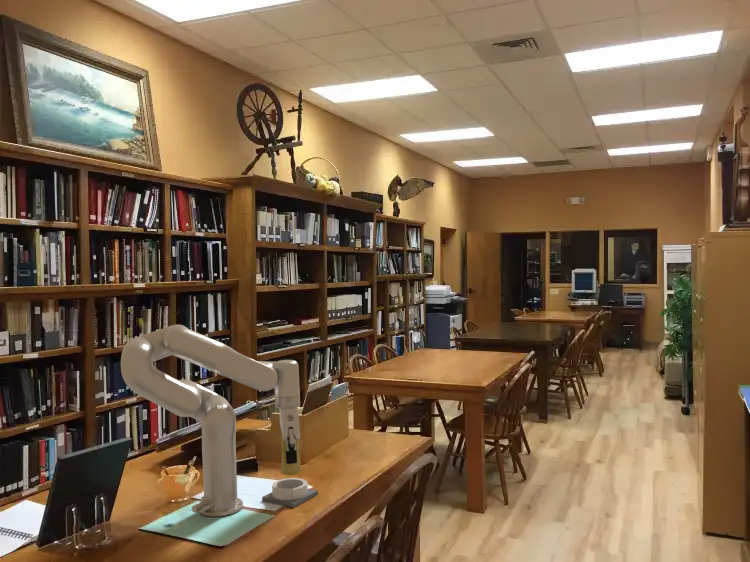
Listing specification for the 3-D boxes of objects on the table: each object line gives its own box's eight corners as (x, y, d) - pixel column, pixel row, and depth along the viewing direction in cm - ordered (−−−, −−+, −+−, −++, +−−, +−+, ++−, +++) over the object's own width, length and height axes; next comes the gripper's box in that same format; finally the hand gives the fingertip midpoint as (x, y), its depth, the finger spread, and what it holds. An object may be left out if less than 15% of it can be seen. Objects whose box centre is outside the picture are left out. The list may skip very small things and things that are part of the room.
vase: (291, 476, 185) (289, 429, 185) (277, 473, 189) (274, 426, 189) (305, 470, 190) (303, 424, 190) (291, 467, 194) (289, 421, 194)
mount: (293, 507, 182) (293, 493, 181) (262, 501, 188) (261, 487, 187) (317, 494, 192) (317, 480, 192) (287, 488, 198) (286, 475, 198)
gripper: (304, 406, 182) (306, 467, 182) (296, 394, 198) (298, 450, 199) (278, 408, 180) (281, 470, 180) (272, 396, 196) (275, 453, 197)
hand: (290, 459), depth 190 cm, fingers closed on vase, 5 cm apart
